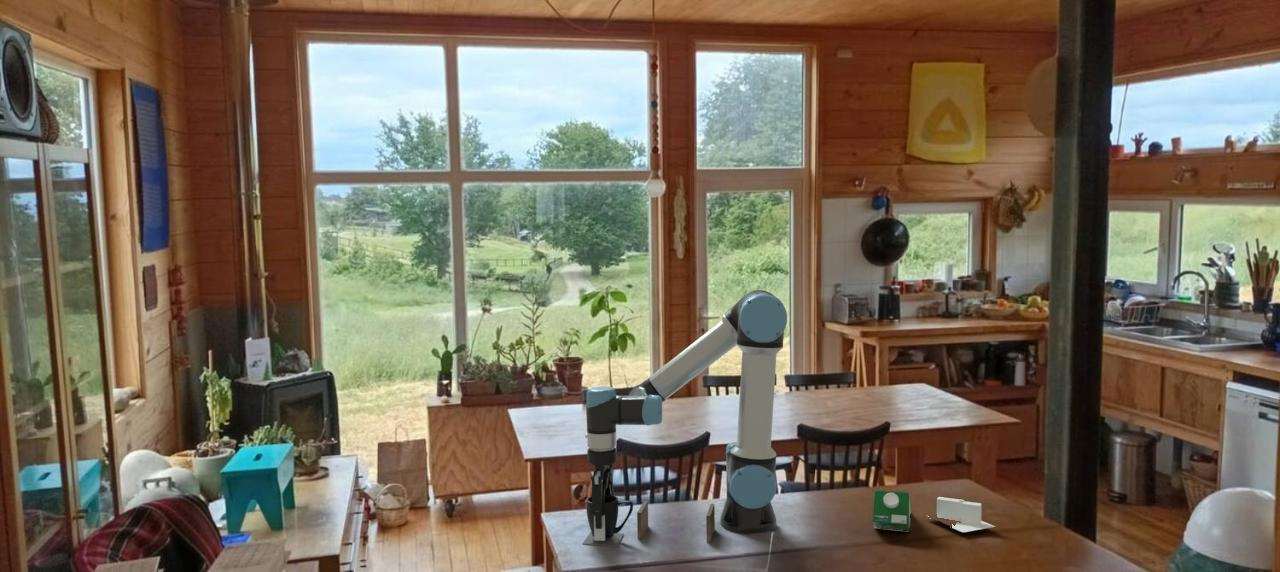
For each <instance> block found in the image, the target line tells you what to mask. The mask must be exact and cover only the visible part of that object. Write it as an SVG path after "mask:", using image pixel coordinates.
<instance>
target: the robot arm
mask: <svg viewBox="0 0 1280 572" xmlns="http://www.w3.org/2000/svg"><path fill="white" fill-rule="evenodd" d="M787 323H788V313H787V309H786V307H785V305H784V303H783V302H782V301H781V300H780V299H779V298H778V297H777V296H775V295H774V294H773V293H770V292H769V291H767V290H761V289H757V290H756V289H755V290H752V291H749V292H748V293H745V295H743V296H742V297H741V298H740V299H739V300H738V301H737V302H736V303H735V304H734V305H732V307H730V308H729V310H727V311H726V312H724V313H723V314H722V318H721V320H720V321H719V322H718V323H717V324H716V325H714V326H713V327H711V328H710V329H709V330H707V332H705V333H704V334H703V335H702V336H700V337H699V338H698V339H696V340H695V341H694V342H693V343H691V344H690V345H689V346H687V347H686V348H685V349H684V350H682V351H681V352H679V354H677V355H676V356H674V357H673V358H672V359H671V360H669V361H668V362H667V363H666V364H664V365H662V367H660V368H659V369H658V370H657V371H655V372H654V373H653V374H651V375H650V376H649V377H648V378H646V379H645V380H644V381H642V383H639V384H637V385H635V386H634V387H633V388H632V389H631V390H630V391H629V393H628V395H619V394H617V393H616V389H615V388H613V387H611V386H595V387H591V388H589V389H588V390H587V391H586V406H585V408H586V409H585V410H586V412H585V413H586V432H587V433H586V434H585V436H584V437H585V439H587V440H586V442H587V443H586V444H587V449H586V450H587V453H586V454H587V463H588V464H589V465H591V466H594V468H595V469H594V470H593V475H592V476H591V478H590V479H591V496H592V512H591V513H590V515H591V516H594V540H597V541H605V515H604V501H605V495H613V496H615V494H614V493H615V492H614V491H615V490H614V476H613V475H614V474H613V473H614V472H613V470H614V465H615V464H616V463H617V460H618V458H617V457H618V455H617V448H616V446H618V444H617V443H618V442H617V426H653V425H655V426H656V425H660V424H662V421H663V403H665V401H666V400H667V399H669V397H671V396H672V395H674V394H675V393H676V392H677V391H679V390H680V389H682V388H684V386H686V385H687V384H688V383H689V382H691V381H692V380H693V379H695V378H696V377H697V376H698V375H699V374H701V373H702V372H704V371H705V370H707V369H708V368H709V367H710V366H711V365H713V364H714V363H715V362H716V361H718V360H720V358H722V357H724V356H725V355H726V354H727V353H728V352H729V351H731V350H732V349H734V348H735V347H736V346H737V347H738V348H739V349H740V350H741V370H740V371H741V372H740V385H739V386H740V387H739V402H738V403H739V404H738V405H739V406H738V419H737V420H738V421H737V436H736V437H737V439H736V442H735V441H734V442H730V443H728V444H726V449H725V450H726V451H725V454H724V455H725V456H726V457H725V458H726V460H725V461H726V465H725V466H726V470H725V471H726V474H725V475H726V476H725V477H726V499H725V502H724V505H723V508H722V512H721V514H720V523H719V524H720V526H721V527H722V528H723V529H725V530H727V531H729V532H733V533H737V534H739V533H740V534H762V533H767V532H770V531H771V532H774V531H775V530H776V529H777V516H776V514H775V511H774V507H773V505H772V500H773V499H774V498H775V495H776V493H777V487H778V484H777V479H776V469H777V468H776V467H777V466H776V464H777V453H776V451H775V450H774V449H773V447H772V435H773V434H772V432H773V431H772V430H773V418H774V417H773V416H774V415H773V414H774V401H775V400H774V399H775V383H776V369H777V368H776V367H777V354H779V352H780V351H781V350H783V348H784V338H785V336H784V335H785V330H786V328H787Z"/></svg>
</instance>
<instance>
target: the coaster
mask: <svg viewBox="0 0 1280 572" xmlns="http://www.w3.org/2000/svg"><path fill="white" fill-rule="evenodd" d="M624 536H625V533H624V532H623V533H622V532H618V533H614V535H613V536H612V537H610V538H605V541H597V540H594V537H593V536H592V532H591V531H590V532H589V533H588V535H587V536H586V538H585V539H584V540H583V542H582V544H587V545H586V546H595V545H596V547H608V546H609V547H610V548H611V547H612V548H617V547H618V546H619V544H620V543H621V541H622V539H623V538H624ZM588 544H589V545H588ZM609 547H608V548H609Z"/></svg>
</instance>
